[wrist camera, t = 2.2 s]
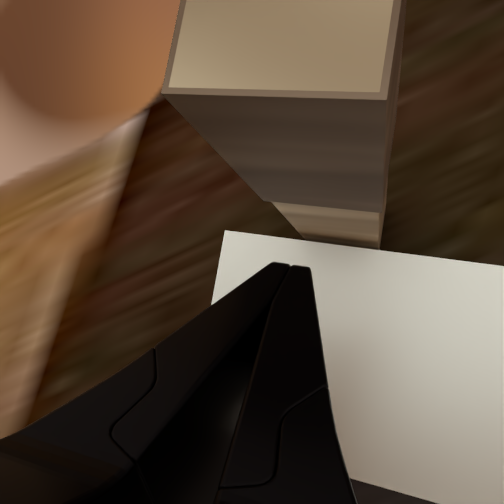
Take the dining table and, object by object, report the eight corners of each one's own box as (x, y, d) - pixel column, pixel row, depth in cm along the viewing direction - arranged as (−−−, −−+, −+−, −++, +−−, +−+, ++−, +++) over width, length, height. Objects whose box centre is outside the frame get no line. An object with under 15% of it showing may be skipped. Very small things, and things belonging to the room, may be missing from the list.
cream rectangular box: (561, 497, 17) (622, 556, 13) (226, 409, 21) (187, 431, 17) (580, 293, 18) (643, 284, 13) (254, 247, 22) (224, 230, 18)
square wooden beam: (495, 442, 17) (1036, 1001, 3) (288, 392, 20) (61, 575, 6) (520, 217, 18) (1016, -141, 4) (319, 198, 21) (194, -66, 7)
